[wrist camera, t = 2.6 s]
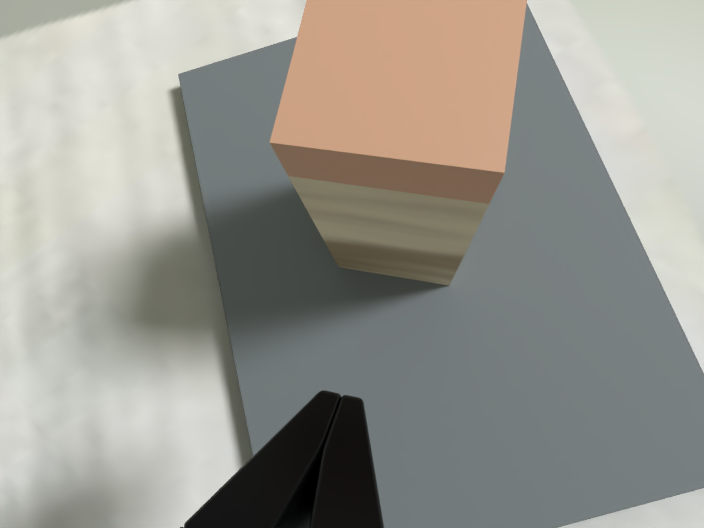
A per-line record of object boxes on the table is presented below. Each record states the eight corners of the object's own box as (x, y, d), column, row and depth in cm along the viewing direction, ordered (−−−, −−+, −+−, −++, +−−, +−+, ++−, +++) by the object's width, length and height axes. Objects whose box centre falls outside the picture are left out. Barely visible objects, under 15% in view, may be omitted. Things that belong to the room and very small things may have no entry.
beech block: (449, 285, 18) (504, 173, 8) (338, 266, 19) (269, 142, 9) (465, 181, 19) (530, -28, 9) (359, 167, 20) (318, -41, 10)
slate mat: (735, 470, 16) (752, 474, 15) (287, 591, 16) (281, 602, 16) (507, -16, 22) (511, -30, 21) (185, 84, 23) (178, 74, 22)
